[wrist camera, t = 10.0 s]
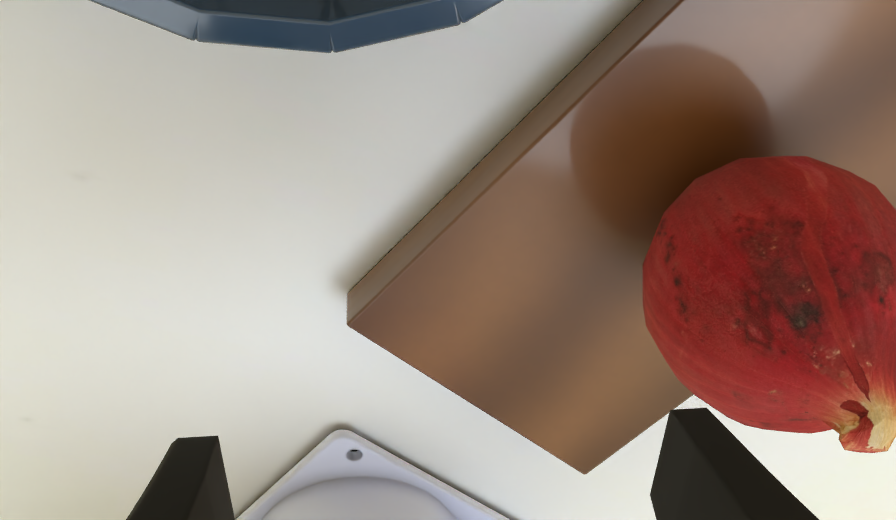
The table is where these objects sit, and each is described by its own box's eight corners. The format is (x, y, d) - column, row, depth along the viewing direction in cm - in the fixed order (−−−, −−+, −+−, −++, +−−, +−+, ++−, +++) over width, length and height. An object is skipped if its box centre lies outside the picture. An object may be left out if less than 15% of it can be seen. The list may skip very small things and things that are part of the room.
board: (1077, 56, 21) (1123, 76, 20) (574, 442, 27) (585, 476, 26) (894, -252, 17) (938, -250, 15) (346, 293, 23) (345, 325, 22)
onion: (568, 173, 20) (678, 399, 13) (791, 57, 19) (1035, 239, 12) (649, 328, 23) (771, 574, 16) (845, 237, 22) (1063, 461, 15)
